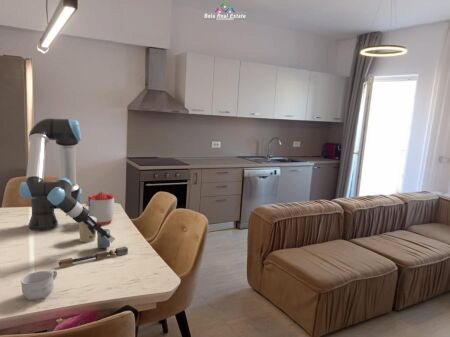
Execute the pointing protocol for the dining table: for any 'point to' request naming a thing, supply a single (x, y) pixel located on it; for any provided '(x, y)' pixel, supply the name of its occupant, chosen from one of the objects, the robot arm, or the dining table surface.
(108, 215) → the citrus juicer
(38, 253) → the dining table surface
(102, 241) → the dome-topped knob
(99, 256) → the cord rig
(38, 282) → the teacup
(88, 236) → the coffee cup
